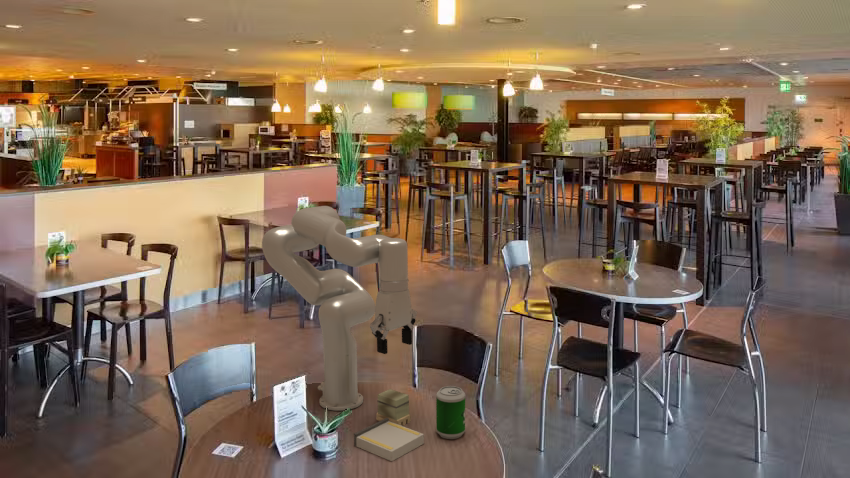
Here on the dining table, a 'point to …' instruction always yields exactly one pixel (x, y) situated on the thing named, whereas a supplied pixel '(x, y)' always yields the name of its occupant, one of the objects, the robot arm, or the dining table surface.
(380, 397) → the pallet
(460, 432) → the soda can
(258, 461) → the dining table surface
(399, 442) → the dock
